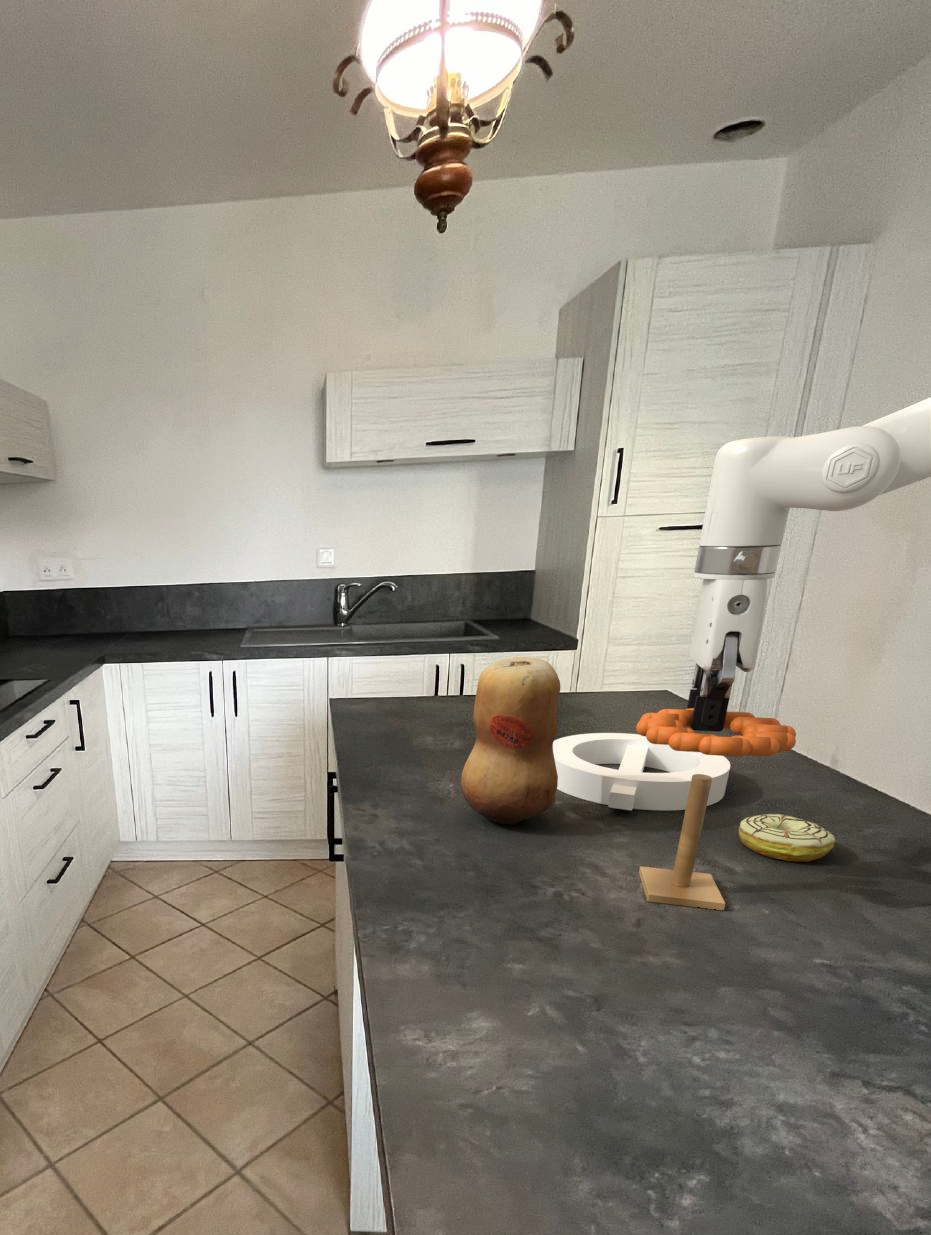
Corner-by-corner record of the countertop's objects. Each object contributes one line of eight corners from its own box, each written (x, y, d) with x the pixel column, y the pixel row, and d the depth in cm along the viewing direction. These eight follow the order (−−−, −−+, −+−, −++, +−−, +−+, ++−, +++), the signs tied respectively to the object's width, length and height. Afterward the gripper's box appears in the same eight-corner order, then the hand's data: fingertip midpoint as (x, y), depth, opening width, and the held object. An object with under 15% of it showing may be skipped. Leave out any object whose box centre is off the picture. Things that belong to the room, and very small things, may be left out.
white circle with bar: (617, 819, 111) (622, 790, 109) (512, 766, 136) (514, 741, 135) (767, 798, 117) (773, 770, 115) (639, 750, 142) (643, 727, 140)
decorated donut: (826, 842, 101) (833, 817, 99) (832, 872, 92) (840, 845, 91) (737, 828, 106) (742, 804, 105) (735, 855, 98) (741, 830, 97)
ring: (776, 726, 84) (780, 710, 84) (812, 763, 74) (817, 745, 73) (628, 719, 89) (631, 703, 89) (641, 753, 79) (645, 735, 78)
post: (709, 880, 92) (733, 768, 86) (724, 910, 85) (751, 791, 79) (638, 872, 94) (658, 763, 89) (647, 901, 87) (668, 785, 82)
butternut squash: (449, 829, 110) (461, 665, 101) (467, 800, 121) (479, 649, 112) (547, 843, 104) (569, 670, 95) (556, 811, 115) (576, 653, 106)
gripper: (801, 568, 71) (759, 748, 77) (755, 558, 85) (723, 711, 91) (712, 569, 73) (679, 743, 80) (682, 560, 87) (656, 708, 94)
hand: (703, 725), depth 86 cm, fingers closed on ring, 2 cm apart
